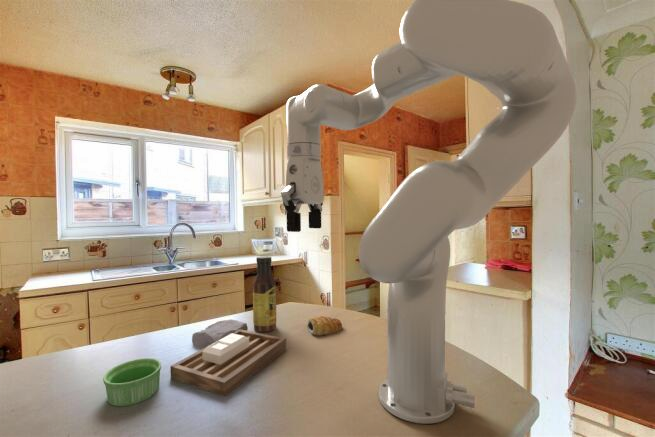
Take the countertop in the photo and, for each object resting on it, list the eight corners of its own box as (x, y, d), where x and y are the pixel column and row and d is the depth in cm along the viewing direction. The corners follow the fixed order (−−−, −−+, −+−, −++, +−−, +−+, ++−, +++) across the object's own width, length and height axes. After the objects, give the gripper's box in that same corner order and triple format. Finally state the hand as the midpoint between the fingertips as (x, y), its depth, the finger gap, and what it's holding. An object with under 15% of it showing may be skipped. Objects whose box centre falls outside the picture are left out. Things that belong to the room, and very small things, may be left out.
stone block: (188, 353, 76) (219, 352, 72) (185, 334, 77) (216, 331, 73) (222, 336, 87) (251, 334, 83) (219, 319, 88) (248, 316, 84)
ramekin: (126, 379, 62) (125, 357, 62) (171, 379, 62) (170, 358, 61) (91, 409, 53) (90, 383, 53) (143, 409, 53) (142, 384, 52)
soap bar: (249, 346, 72) (249, 334, 71) (220, 364, 63) (220, 351, 63) (232, 342, 74) (232, 331, 74) (202, 359, 65) (202, 347, 65)
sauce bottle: (274, 333, 83) (272, 259, 82) (250, 333, 83) (249, 259, 82) (278, 324, 89) (277, 255, 89) (256, 324, 90) (255, 255, 89)
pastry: (335, 323, 90) (335, 310, 90) (346, 332, 84) (346, 318, 84) (305, 329, 86) (304, 315, 86) (314, 338, 80) (313, 324, 80)
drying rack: (286, 349, 74) (286, 338, 74) (224, 396, 56) (224, 382, 56) (239, 338, 80) (239, 329, 80) (170, 378, 62) (170, 366, 62)
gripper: (298, 146, 61) (300, 233, 62) (334, 157, 77) (335, 227, 78) (267, 149, 64) (268, 232, 65) (308, 160, 80) (308, 226, 81)
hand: (305, 229), depth 71 cm, fingers open, 9 cm apart
